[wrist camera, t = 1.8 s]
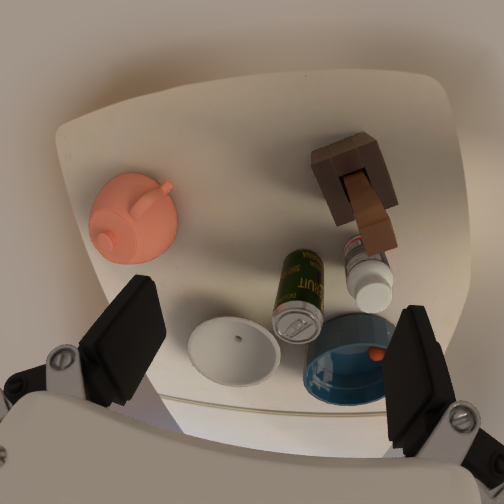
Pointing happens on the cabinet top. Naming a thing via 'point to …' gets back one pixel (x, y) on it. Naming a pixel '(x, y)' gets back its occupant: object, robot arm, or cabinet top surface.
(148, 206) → the pink teapot
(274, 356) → the dish
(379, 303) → the pill bottle
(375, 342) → the bowl
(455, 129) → the cabinet top surface
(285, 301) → the green drink can
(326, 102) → the cabinet top surface
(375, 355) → the ball
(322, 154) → the stick stand
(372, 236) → the brown wooden stick
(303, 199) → the cabinet top surface
